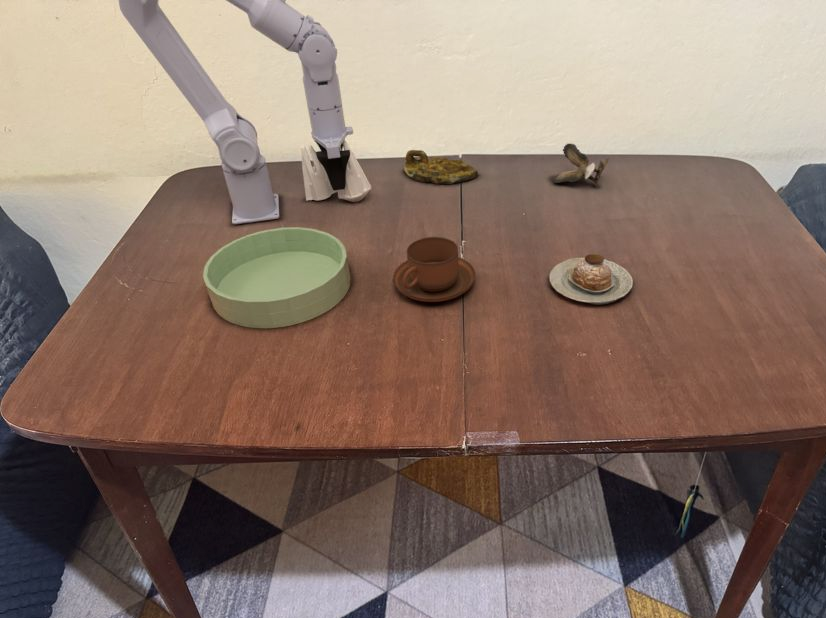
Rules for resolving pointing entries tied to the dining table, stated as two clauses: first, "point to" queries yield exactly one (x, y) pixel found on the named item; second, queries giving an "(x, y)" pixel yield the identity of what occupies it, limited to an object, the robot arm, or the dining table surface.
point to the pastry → (591, 280)
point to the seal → (437, 169)
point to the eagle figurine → (579, 166)
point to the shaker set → (319, 182)
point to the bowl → (277, 277)
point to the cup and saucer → (433, 271)
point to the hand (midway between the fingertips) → (337, 181)
